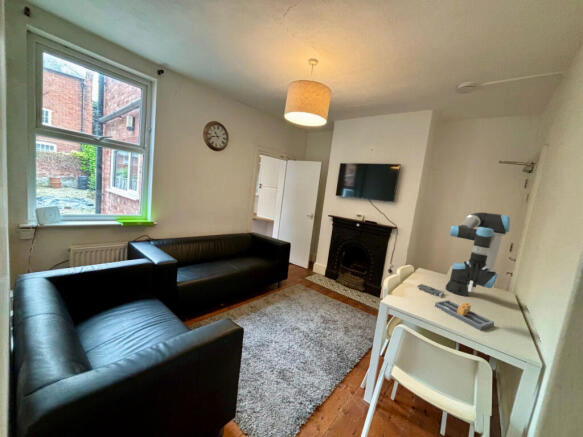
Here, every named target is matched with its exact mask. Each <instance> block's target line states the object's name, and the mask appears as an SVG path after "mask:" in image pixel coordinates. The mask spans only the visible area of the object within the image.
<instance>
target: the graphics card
mask: <svg viewBox="0 0 583 437" xmlns="http://www.w3.org/2000/svg"><path fill="white" fill-rule="evenodd" d="M416 287H417V288H419V289H420V290H421V291H423V292H425V293H428V294H430V295H431V296H434V295H435V297H437V296H438V297H437V298H441V297H443V296H444V295H445V290H440V289H438V288H437V289H436V288H434V287H431V286H430V285H429V286H428V285H425V284H423V283H420V284H418V285H417V286H416Z"/></svg>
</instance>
